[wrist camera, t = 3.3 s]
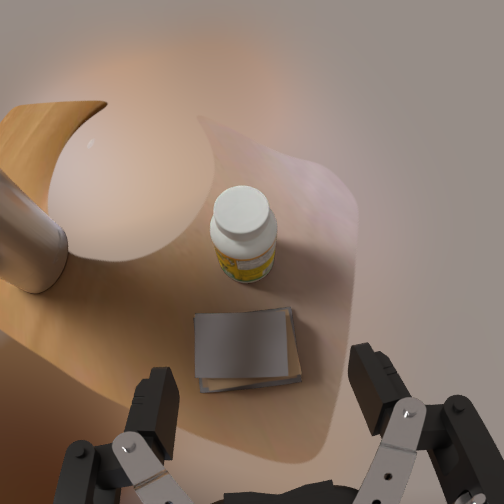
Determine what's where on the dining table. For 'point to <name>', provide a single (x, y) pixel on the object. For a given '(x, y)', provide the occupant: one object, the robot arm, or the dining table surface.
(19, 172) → the dining table surface
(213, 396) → the dining table surface
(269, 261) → the supplement bottle
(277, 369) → the offcut stack
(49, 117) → the dining table surface
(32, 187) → the dining table surface
